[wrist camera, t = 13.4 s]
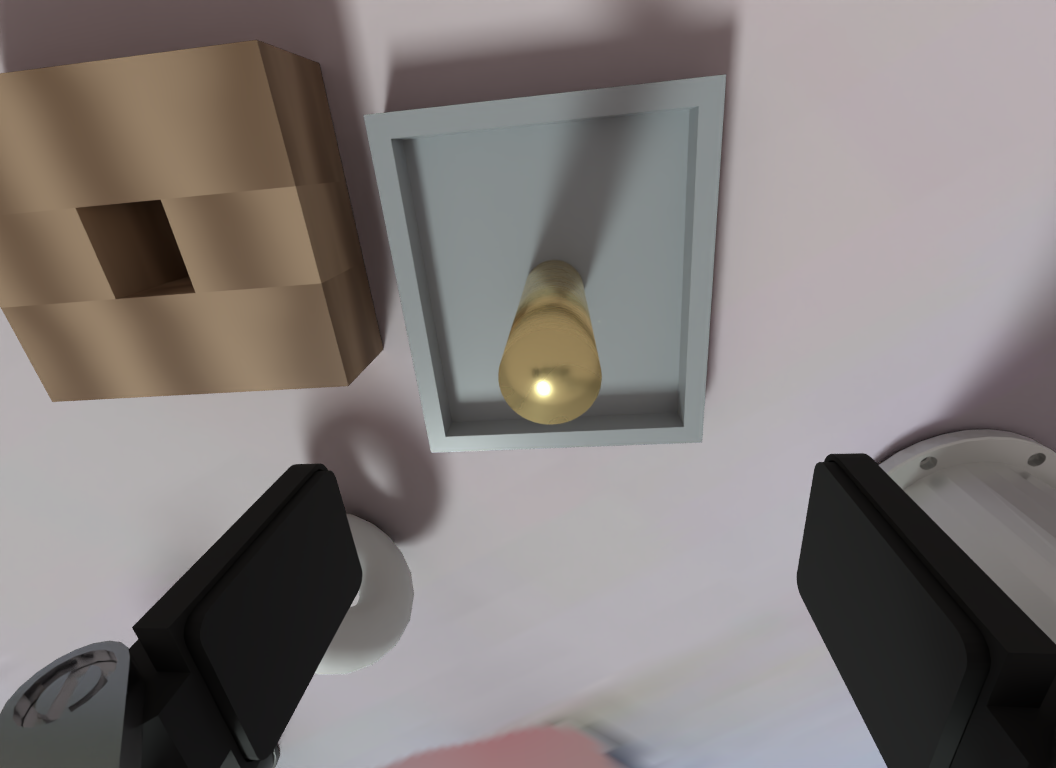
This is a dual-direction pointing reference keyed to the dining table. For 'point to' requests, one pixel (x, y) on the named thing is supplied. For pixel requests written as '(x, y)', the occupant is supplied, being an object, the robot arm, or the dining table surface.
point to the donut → (372, 604)
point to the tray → (557, 251)
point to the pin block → (180, 226)
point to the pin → (551, 348)
